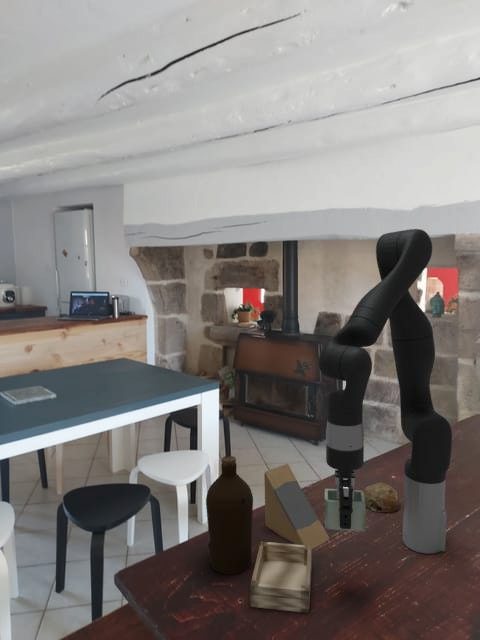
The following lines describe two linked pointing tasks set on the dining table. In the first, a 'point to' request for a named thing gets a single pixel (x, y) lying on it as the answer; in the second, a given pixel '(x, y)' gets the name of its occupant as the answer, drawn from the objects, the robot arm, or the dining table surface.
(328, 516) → the box
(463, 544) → the dining table surface
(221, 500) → the olive oil
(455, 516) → the dining table surface
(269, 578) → the big crate
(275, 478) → the sandwich container
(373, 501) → the bread roll
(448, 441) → the robot arm
